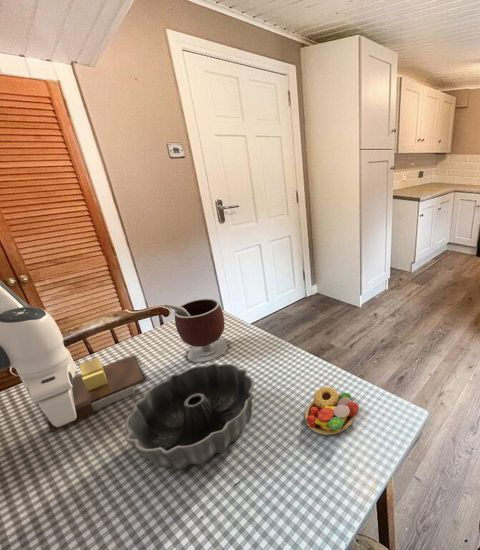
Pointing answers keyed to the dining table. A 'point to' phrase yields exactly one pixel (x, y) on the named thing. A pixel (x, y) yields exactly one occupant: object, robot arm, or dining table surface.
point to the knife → (95, 406)
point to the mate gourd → (201, 328)
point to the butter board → (115, 373)
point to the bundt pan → (191, 415)
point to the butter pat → (94, 380)
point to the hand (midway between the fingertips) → (71, 415)
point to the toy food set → (330, 411)
